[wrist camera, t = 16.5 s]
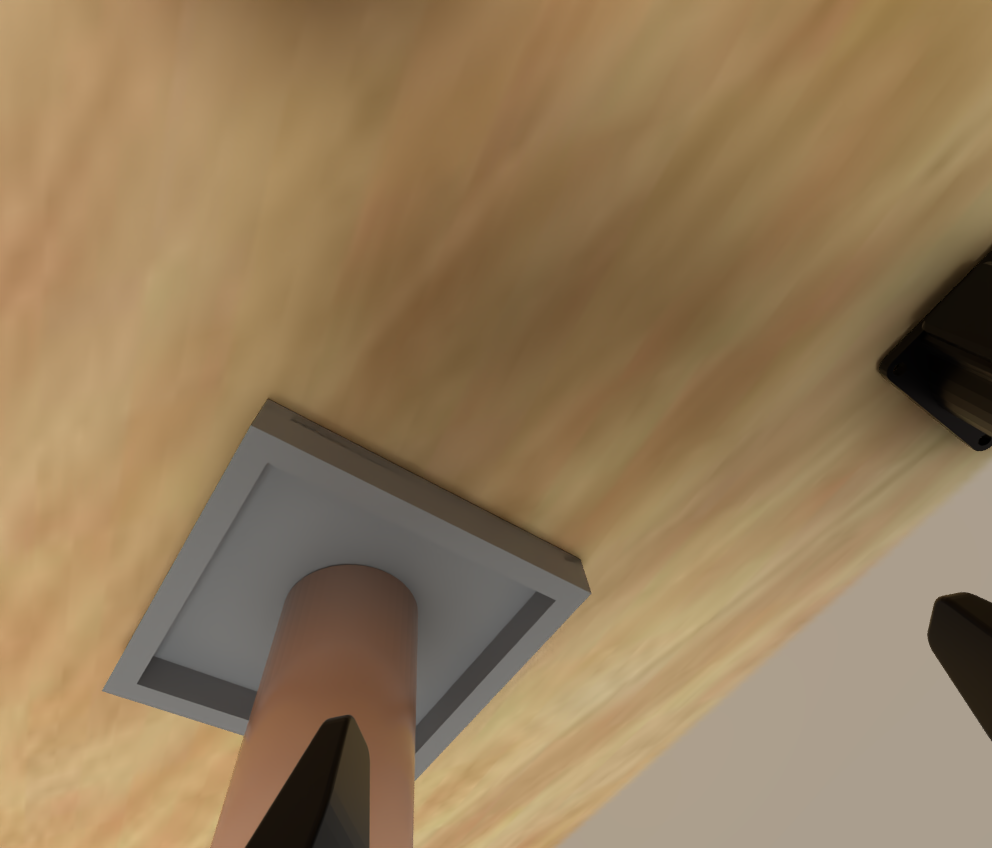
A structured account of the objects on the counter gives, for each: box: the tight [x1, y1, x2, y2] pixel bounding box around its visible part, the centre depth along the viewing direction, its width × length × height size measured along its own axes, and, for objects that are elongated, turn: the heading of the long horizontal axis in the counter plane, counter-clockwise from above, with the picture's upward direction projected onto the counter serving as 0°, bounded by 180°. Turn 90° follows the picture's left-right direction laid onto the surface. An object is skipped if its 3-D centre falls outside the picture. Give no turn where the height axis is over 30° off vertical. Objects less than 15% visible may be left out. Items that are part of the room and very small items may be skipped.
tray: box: [102, 399, 591, 781], centre depth 24 cm, size 14×14×2 cm
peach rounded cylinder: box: [210, 565, 418, 848], centre depth 18 cm, size 6×6×13 cm
